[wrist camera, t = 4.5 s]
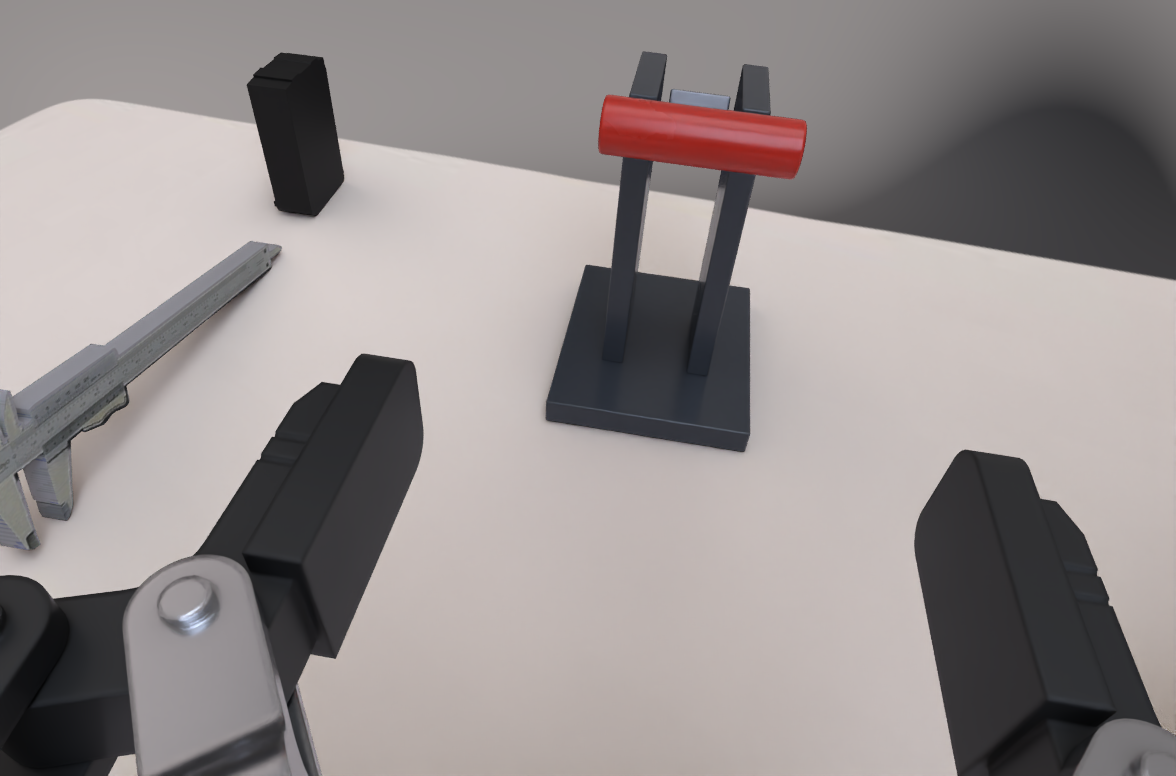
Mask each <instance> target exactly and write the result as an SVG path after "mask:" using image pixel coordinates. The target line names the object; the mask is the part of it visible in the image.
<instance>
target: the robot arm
mask: <svg viewBox="0 0 1176 776" xmlns="http://www.w3.org/2000/svg"><path fill="white" fill-rule="evenodd" d="M275 432H276V434H275V437H272V438H271V439H270V441H269V442H268V444H267V445H266V447H265V448H264V450H263V452H262V453H261V459H260V460H257V461H256V462H255V464H254V466H253V467H252V469H251V470H250V472H249V473H248V475H247V477H246V478H245V480H244V481H243V483H242V484H241V486H240V487H239V489H238V491H237V492H236V494H235V495H234V497H233V498H232V500H231V501H230V503H229V505H228V506H227V508H226V509H225V511H224V512H223V514H222V515H221V517H220V519H219V520H218V522H217V523H216V525H215V526H214V528H213V529H212V531H211V533H210V534H209V536H208V537H207V539H206V540H205V542H204V543H203V545H202V546H201V547H200V549H199V550H198V551H197V552H196V553H195V554H194V555H193V556H191V557H187V558H184V559H180V560H178V561H176V562H173V563H171V564H169V565H167V566H165V567H163V568H161V569H160V570H158V571H157V572H156V573H154V574H153V575H151V576H150V577H149V578H148V579H147V580H146V581H145V582H143V583H142V584H141V586H140V587H137V588H132V589H127V590H121V591H113V592H104V593H96V594H88V595H80V596H72V597H64V598H56V599H53V598H52V597H51V596H50V595H49V593H48V592H47V591H46V590H45V588H44V587H43V586H42V585H41V584H39V583H38V582H37V581H35V580H33V579H30V578H28V577H23V576H15V575H5V576H0V776H108V774H109V772H110V771H111V769H112V767H113V765H114V763H115V761H116V759H117V757H118V756H124V755H131V754H136V764H137V774H138V776H322V773H321V769H320V765H319V761H318V757H317V754H316V750H315V746H314V742H313V739H312V735H311V731H310V727H309V723H308V720H307V716H306V712H305V708H304V704H303V701H302V697H301V693H300V689H299V686H298V683H297V682H298V680H299V678H300V676H301V674H302V671H303V669H304V667H305V665H306V663H307V661H308V658H309V656H310V654H313V655H318V656H323V657H329V658H334V659H336V657H337V654H338V652H339V650H340V647H341V645H342V643H343V640H344V638H345V636H346V633H347V631H348V629H349V626H350V624H351V622H352V619H353V617H354V615H355V612H356V610H357V608H358V605H359V603H360V601H361V598H362V596H363V594H364V591H365V589H366V587H367V584H368V582H369V580H370V577H371V575H372V573H373V570H374V568H375V566H376V563H377V561H378V559H379V556H380V554H381V552H382V549H383V547H384V545H385V542H386V540H387V538H388V535H389V533H390V531H391V528H392V526H393V524H394V521H395V519H396V517H397V514H398V512H399V510H400V507H401V505H402V503H403V500H404V498H405V496H406V493H407V491H408V489H409V486H410V484H411V482H412V479H413V477H414V475H415V472H416V470H417V467H418V464H419V461H420V457H421V453H422V447H423V422H422V415H421V407H420V399H419V391H418V384H417V376H416V369H415V366H414V364H413V362H412V361H408V360H402V359H396V358H389V357H383V356H377V355H370V354H361V355H359V356H358V357H357V358H356V360H355V361H354V363H353V364H352V366H351V368H350V370H349V371H348V373H347V375H346V376H345V378H344V380H343V381H342V383H341V385H338V384H331V383H325V382H321V383H320V384H319V385H317V386H316V387H315V388H313V389H312V390H311V391H309V392H308V393H307V394H305V395H304V396H303V397H302V398H300V399H299V400H298V401H296V402H295V403H294V404H293V405H292V406H291V408H290V410H289V411H288V413H287V414H286V416H285V417H284V419H283V420H282V422H281V424H280V425H279V427H278V428H277V430H276V431H275ZM914 548H915V557H916V562H917V567H918V572H919V577H920V583H921V588H922V593H923V598H924V603H925V609H926V614H927V619H928V624H929V629H930V635H931V640H932V645H933V650H934V655H935V660H936V666H937V671H938V676H939V681H940V686H941V692H942V697H943V702H944V707H945V712H946V718H947V723H948V728H949V733H950V738H951V744H952V749H953V754H954V759H955V764H956V770H957V775H958V776H1176V736H1175V735H1174V734H1172V733H1170V732H1169V731H1167V730H1165V729H1163V728H1162V727H1161V725H1160V723H1159V721H1158V719H1157V717H1156V714H1155V712H1154V710H1153V707H1152V705H1151V702H1150V700H1149V697H1148V694H1147V692H1146V689H1145V687H1144V684H1143V682H1142V679H1141V677H1140V674H1139V672H1138V669H1137V667H1136V664H1135V662H1134V659H1133V657H1132V654H1131V652H1130V649H1129V647H1128V644H1127V642H1126V639H1125V637H1124V634H1123V632H1122V629H1121V627H1120V624H1119V622H1118V619H1117V617H1116V614H1115V612H1114V609H1113V606H1109V604H1108V601H1109V596H1108V594H1107V591H1106V589H1105V586H1104V584H1103V581H1102V579H1101V577H1098V576H1097V571H1098V569H1097V566H1096V564H1095V561H1094V559H1093V556H1092V554H1091V551H1090V549H1089V546H1088V544H1087V541H1086V539H1085V536H1084V534H1083V533H1082V532H1081V531H1080V529H1079V528H1078V527H1077V526H1076V525H1075V523H1074V522H1073V521H1072V520H1071V519H1070V517H1069V516H1068V515H1067V514H1066V513H1065V511H1064V510H1063V509H1062V508H1061V507H1060V505H1059V504H1058V503H1057V502H1056V501H1050V500H1044V499H1040V497H1039V494H1038V491H1037V489H1036V486H1035V483H1034V480H1033V477H1032V475H1031V472H1030V469H1029V467H1028V465H1027V464H1026V462H1025V461H1024V460H1022V459H1020V458H1016V457H1009V456H1003V455H997V454H990V453H984V452H978V451H971V450H962V451H961V452H959V453H958V454H957V455H956V457H955V458H954V460H953V461H952V463H951V465H950V466H949V468H948V469H947V471H946V473H945V474H944V476H943V478H942V479H941V481H940V482H939V484H938V486H937V487H936V489H935V491H934V492H933V494H932V495H931V497H930V499H929V500H928V502H927V504H926V505H925V507H924V508H923V510H922V512H921V514H920V516H919V519H918V522H917V526H916V531H915V540H914Z"/></svg>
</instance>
